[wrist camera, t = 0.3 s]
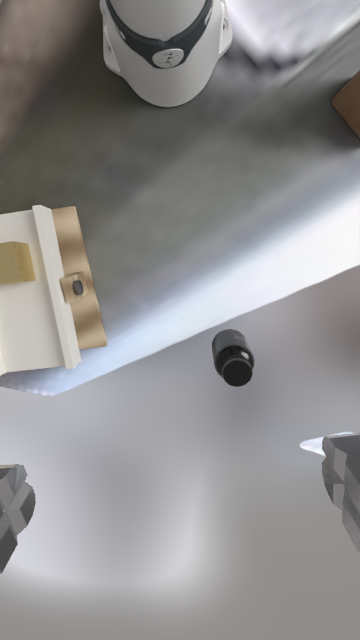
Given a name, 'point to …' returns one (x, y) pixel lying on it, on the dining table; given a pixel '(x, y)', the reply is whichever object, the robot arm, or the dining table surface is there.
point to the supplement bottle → (232, 357)
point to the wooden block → (349, 103)
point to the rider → (15, 263)
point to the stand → (78, 279)
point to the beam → (36, 300)
